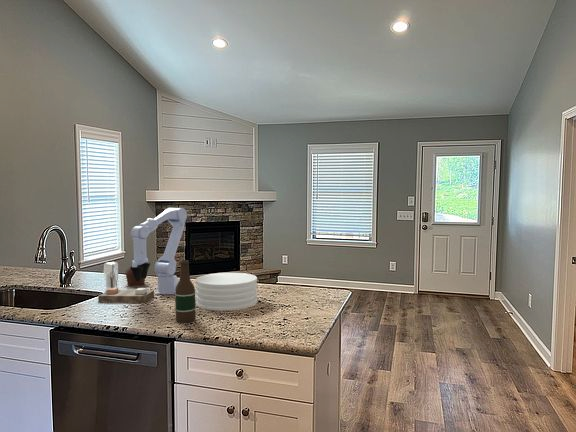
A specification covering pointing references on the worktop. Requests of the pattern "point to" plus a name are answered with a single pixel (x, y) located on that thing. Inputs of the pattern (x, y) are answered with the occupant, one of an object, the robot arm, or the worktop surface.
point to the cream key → (141, 291)
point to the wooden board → (126, 296)
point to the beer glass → (111, 274)
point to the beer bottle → (185, 296)
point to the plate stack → (226, 291)
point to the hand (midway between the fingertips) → (140, 279)
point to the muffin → (133, 279)
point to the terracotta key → (112, 291)
